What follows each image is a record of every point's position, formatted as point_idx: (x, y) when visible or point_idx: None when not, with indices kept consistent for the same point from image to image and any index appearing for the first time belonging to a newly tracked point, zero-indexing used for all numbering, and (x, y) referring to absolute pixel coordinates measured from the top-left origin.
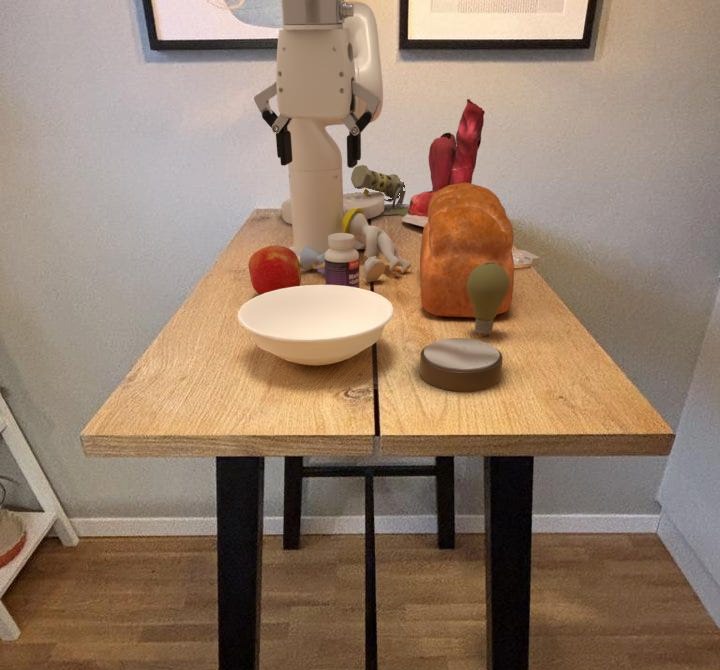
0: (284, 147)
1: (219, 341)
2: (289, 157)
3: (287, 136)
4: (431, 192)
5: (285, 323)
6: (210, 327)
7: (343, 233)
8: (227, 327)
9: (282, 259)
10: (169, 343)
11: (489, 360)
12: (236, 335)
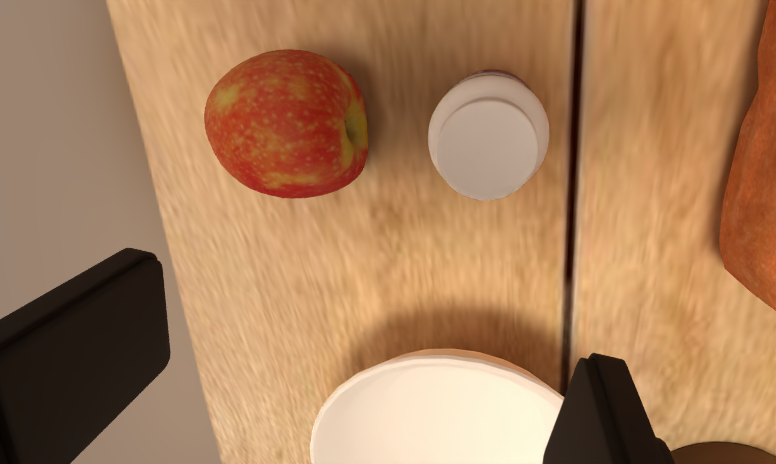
0: (100, 430)
1: (279, 347)
2: (146, 320)
3: (34, 420)
4: None
5: (387, 375)
6: (240, 289)
7: (492, 111)
8: (269, 290)
9: (307, 185)
10: (206, 349)
11: None
12: (298, 325)
